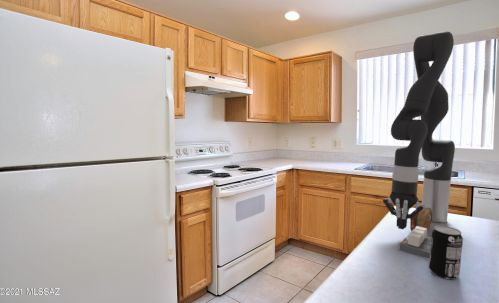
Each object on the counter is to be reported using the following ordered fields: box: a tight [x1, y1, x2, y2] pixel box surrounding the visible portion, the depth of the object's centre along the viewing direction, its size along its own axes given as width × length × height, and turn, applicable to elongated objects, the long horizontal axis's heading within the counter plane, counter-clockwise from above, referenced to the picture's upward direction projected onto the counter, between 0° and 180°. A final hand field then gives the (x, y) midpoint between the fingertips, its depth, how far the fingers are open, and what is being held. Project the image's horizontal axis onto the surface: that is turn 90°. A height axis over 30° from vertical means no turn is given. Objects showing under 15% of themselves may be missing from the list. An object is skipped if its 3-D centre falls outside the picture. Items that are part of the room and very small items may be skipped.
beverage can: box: [428, 225, 464, 280], centre depth 72 cm, size 7×7×12 cm
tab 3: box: [407, 232, 422, 247], centre depth 85 cm, size 2×3×3 cm
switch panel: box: [398, 232, 432, 260], centre depth 86 cm, size 13×12×2 cm
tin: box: [409, 207, 433, 232], centre depth 102 cm, size 15×3×8 cm, turn 129°
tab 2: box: [411, 229, 424, 243], centre depth 88 cm, size 2×3×3 cm
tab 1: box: [415, 226, 428, 239], centre depth 91 cm, size 2×3×3 cm
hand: (401, 228), depth 95 cm, fingers closed
